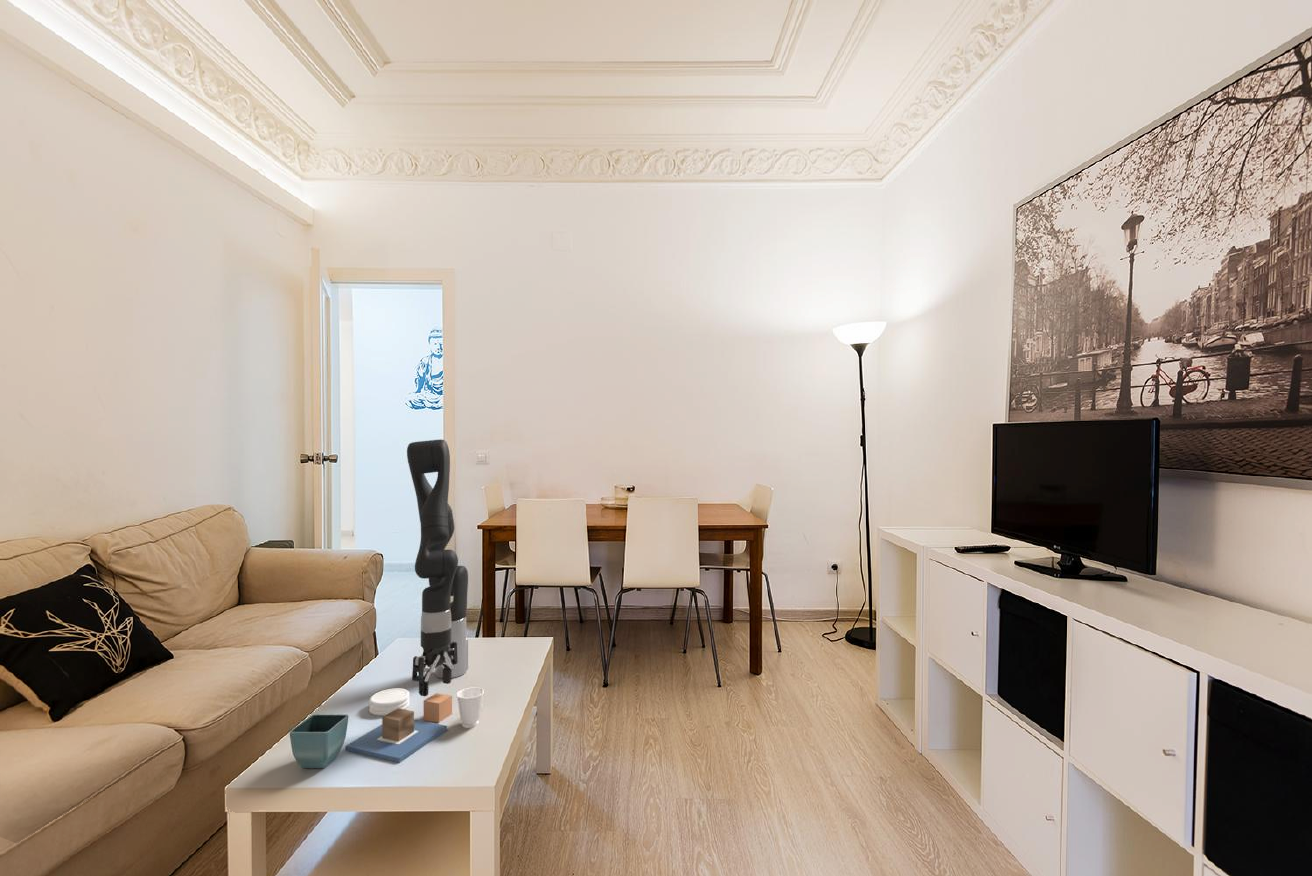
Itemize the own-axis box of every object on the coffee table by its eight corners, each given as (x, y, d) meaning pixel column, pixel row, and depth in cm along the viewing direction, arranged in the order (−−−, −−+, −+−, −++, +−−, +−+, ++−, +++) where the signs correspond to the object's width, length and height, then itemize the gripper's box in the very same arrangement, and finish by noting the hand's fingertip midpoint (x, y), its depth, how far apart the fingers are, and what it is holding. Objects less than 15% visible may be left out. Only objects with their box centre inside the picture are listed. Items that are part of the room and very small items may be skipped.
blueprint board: (396, 719, 155) (396, 715, 155) (447, 730, 149) (447, 725, 149) (345, 750, 140) (345, 745, 140) (399, 762, 134) (399, 758, 134)
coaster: (394, 718, 156) (394, 705, 156) (360, 714, 158) (360, 701, 158) (417, 702, 165) (417, 689, 165) (385, 698, 168) (385, 686, 168)
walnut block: (397, 728, 148) (397, 708, 148) (413, 731, 146) (413, 711, 146) (382, 738, 143) (382, 717, 143) (398, 741, 141) (398, 720, 141)
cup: (451, 730, 149) (451, 698, 149) (465, 712, 159) (465, 682, 159) (480, 730, 149) (479, 698, 149) (491, 712, 159) (491, 682, 159)
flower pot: (312, 752, 139) (312, 713, 139) (349, 752, 138) (349, 714, 138) (288, 773, 130) (288, 732, 130) (327, 774, 130) (327, 732, 130)
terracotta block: (436, 711, 159) (436, 692, 159) (452, 714, 158) (452, 695, 158) (423, 720, 155) (423, 700, 155) (439, 723, 153) (439, 703, 153)
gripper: (443, 618, 164) (442, 677, 164) (404, 633, 151) (403, 697, 150) (465, 621, 161) (465, 681, 161) (428, 636, 148) (427, 702, 148)
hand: (435, 689), depth 156 cm, fingers open, 8 cm apart
